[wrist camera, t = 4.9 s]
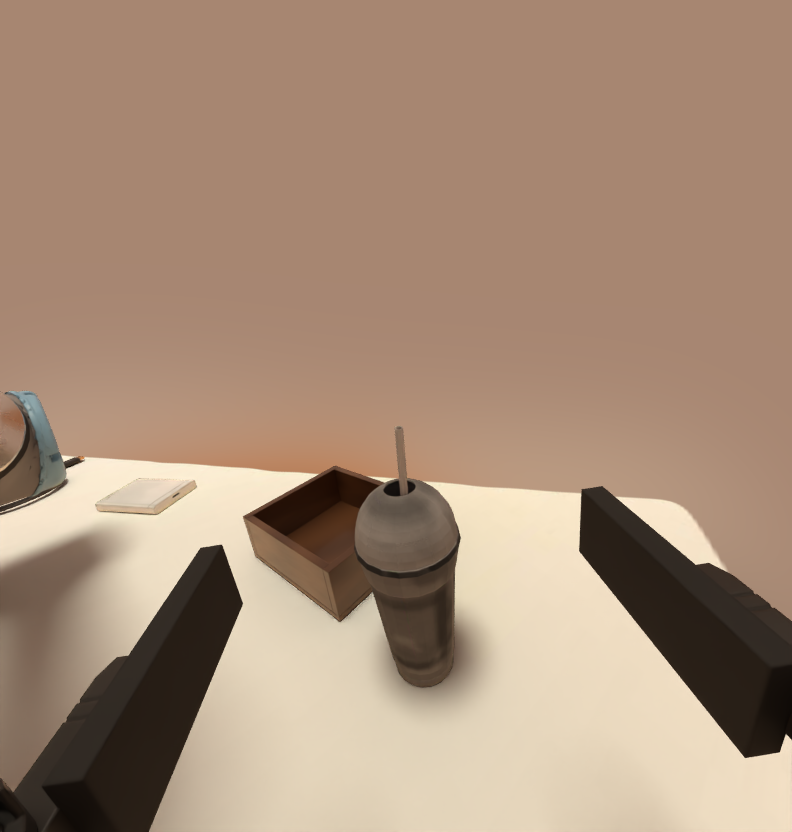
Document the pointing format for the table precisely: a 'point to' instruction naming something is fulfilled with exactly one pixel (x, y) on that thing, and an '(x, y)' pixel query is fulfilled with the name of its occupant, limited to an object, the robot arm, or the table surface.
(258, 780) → the table surface
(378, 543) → the beverage cup
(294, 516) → the box
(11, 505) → the cable
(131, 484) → the hard drive
